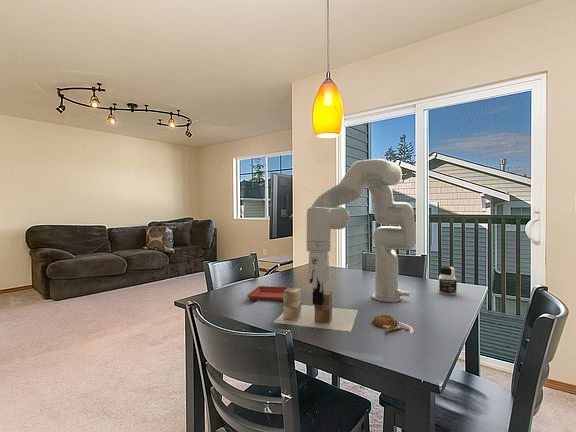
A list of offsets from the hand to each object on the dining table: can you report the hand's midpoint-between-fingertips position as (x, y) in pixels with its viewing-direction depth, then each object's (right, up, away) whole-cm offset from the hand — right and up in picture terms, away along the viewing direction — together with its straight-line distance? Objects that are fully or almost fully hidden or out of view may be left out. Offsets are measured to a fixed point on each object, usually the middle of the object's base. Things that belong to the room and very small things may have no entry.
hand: (318, 304), depth 103 cm
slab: (+1, -9, +14) cm, 17 cm away
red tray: (-16, -9, +41) cm, 45 cm away
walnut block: (+3, -8, +8) cm, 12 cm away
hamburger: (+25, -10, +6) cm, 27 cm away
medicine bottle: (+65, -8, +50) cm, 83 cm away
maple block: (-8, -8, +11) cm, 16 cm away
